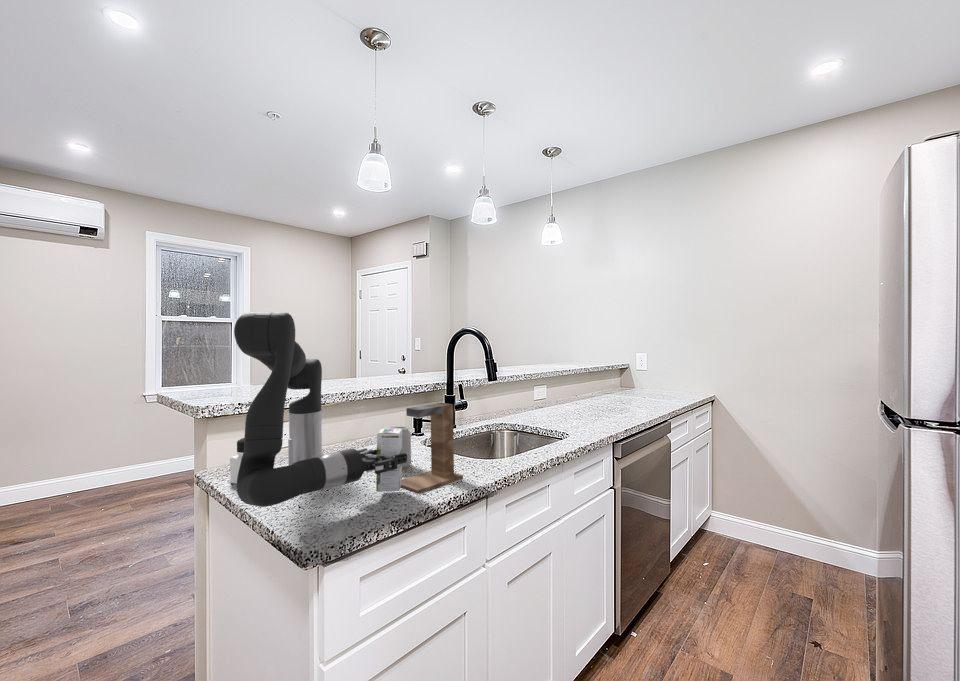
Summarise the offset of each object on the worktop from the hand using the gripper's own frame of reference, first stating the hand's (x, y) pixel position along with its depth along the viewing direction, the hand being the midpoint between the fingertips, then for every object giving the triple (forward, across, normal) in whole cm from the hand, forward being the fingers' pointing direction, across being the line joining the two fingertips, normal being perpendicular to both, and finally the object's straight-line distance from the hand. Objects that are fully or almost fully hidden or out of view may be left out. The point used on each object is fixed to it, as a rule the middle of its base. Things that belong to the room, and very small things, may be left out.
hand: (396, 454), depth 110 cm
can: (+14, +17, +10) cm, 24 cm away
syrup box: (-2, 0, +8) cm, 8 cm away
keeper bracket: (+11, 0, +10) cm, 15 cm away
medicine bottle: (-21, +38, +10) cm, 45 cm away
